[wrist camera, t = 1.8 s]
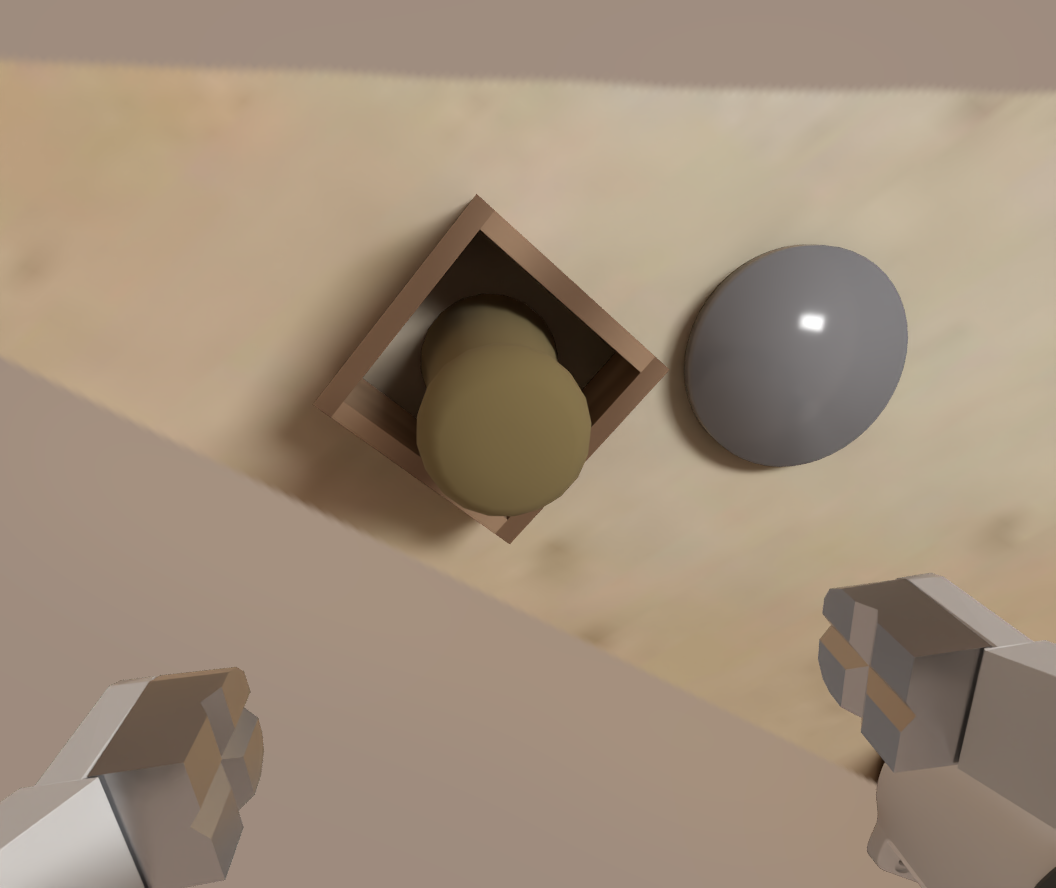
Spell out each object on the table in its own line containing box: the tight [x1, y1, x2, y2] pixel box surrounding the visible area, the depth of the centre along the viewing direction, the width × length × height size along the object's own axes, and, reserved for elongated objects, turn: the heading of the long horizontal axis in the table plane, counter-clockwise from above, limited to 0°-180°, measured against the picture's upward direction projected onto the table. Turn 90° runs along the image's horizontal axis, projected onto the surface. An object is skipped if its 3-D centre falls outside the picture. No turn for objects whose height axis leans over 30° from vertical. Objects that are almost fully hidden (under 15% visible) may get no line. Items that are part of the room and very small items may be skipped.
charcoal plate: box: [684, 245, 908, 467], centre depth 28 cm, size 10×10×1 cm
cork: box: [417, 294, 591, 516], centre depth 22 cm, size 6×6×11 cm
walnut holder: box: [313, 194, 669, 544], centre depth 25 cm, size 10×10×4 cm
